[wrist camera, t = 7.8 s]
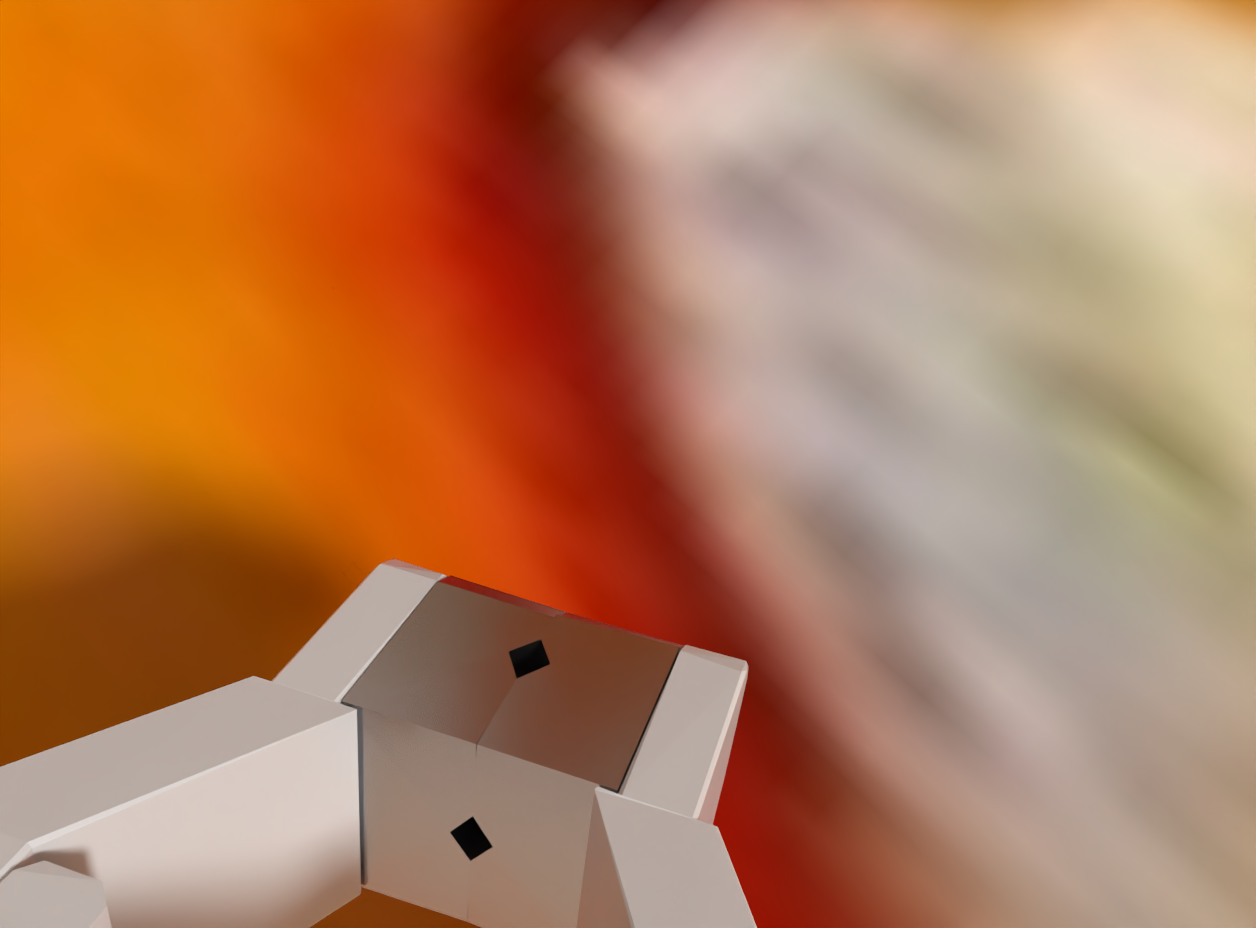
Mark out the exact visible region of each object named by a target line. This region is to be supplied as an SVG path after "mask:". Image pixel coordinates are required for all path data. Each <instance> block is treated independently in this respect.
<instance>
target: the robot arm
mask: <svg viewBox="0 0 1256 928" xmlns="http://www.w3.org/2000/svg"><path fill="white" fill-rule="evenodd" d="M748 668H749V667H748V664H747V662H746V661H744V660H740V659H737V658H733V657H729V656H725V655H722V654H718V653H714V652H711V651H707V650H703V649H699V648H696V647H692V646H688V645H685V646H682V645H679V644H675V643H672V642H668V641H665V640H661V639H658V638H654V637H651V636H647V635H644V634H640V633H637V632H633V631H630V630H626V629H623V628H619V627H616V626H612V625H609V624H605V623H602V622H598V621H595V620H591V619H588V618H584V617H581V616H577V615H574V614H570V613H567V612H565V613H564V611H561V610H558V609H555V608H551V607H548V606H545V605H542V604H539V603H536V602H532V601H529V600H526V599H523V598H520V597H517V596H514V595H510V594H507V593H504V592H501V591H498V590H495V589H491V588H488V587H485V586H482V585H479V584H476V583H473V582H469V581H466V580H463V579H460V578H457V577H454V576H449V577H448V576H446V575H443V574H441V573H438V572H434V571H431V570H428V569H425V568H422V567H419V566H415V565H412V564H409V563H406V562H403V561H399V560H396V559H392V560H389V561H386V562H384V563H381V564H379V565H378V566H376V567H375V568H374V569H373V571H372V572H371V573H370V574H369V575H368V576H367V577H366V578H365V579H364V580H363V581H362V583H361V584H360V585H359V586H358V587H357V588H356V589H355V590H354V591H353V592H352V593H351V595H350V596H349V597H348V598H347V599H346V600H345V601H344V602H343V603H342V604H341V605H340V607H339V608H338V609H337V610H336V611H335V612H334V613H333V614H332V615H331V616H330V617H329V619H328V620H327V621H326V622H325V623H324V624H323V625H322V626H321V627H320V628H319V629H318V630H317V632H316V633H315V634H314V635H313V636H312V637H311V638H310V639H309V640H308V641H307V642H306V644H305V645H304V646H303V647H302V648H301V649H300V650H299V651H298V652H297V653H296V654H295V656H294V657H293V658H292V659H291V660H290V661H289V662H288V663H287V664H286V665H285V666H284V668H283V669H282V670H281V671H280V672H279V673H278V674H277V675H276V676H275V677H274V678H273V679H272V681H269V680H266V679H262V678H259V677H256V676H252V677H249V678H246V679H243V680H240V681H238V682H235V683H232V684H229V685H227V686H224V687H221V688H218V689H215V690H213V691H210V692H207V693H204V694H201V695H199V696H196V697H193V698H190V699H188V700H185V701H182V702H179V703H176V704H174V705H171V706H168V707H165V708H163V709H160V710H157V711H154V712H151V713H149V714H146V715H143V716H140V717H137V718H135V719H132V720H129V721H126V722H124V723H121V724H118V725H115V726H112V727H110V728H107V729H104V730H101V731H99V732H96V733H93V734H90V735H87V736H85V737H82V738H79V739H76V740H73V741H71V742H68V743H65V744H62V745H60V746H57V747H54V748H51V749H48V750H46V751H43V752H40V753H37V754H35V755H32V756H29V757H26V758H23V759H21V760H18V761H15V762H12V763H9V764H7V765H4V766H1V767H0V928H310V927H311V926H313V925H314V924H316V923H317V922H319V921H321V920H322V919H324V918H325V917H327V916H328V915H330V914H331V913H333V912H334V911H336V910H338V909H339V908H341V907H342V906H344V905H345V904H347V903H348V902H350V901H351V900H353V899H355V898H356V897H358V896H359V895H361V887H363V888H366V889H369V890H372V891H375V892H378V893H381V894H384V895H387V896H390V897H393V898H396V899H399V900H402V901H405V902H408V903H411V904H414V905H417V906H420V907H423V908H426V909H430V910H433V911H436V912H439V913H442V914H445V915H448V916H451V917H454V918H457V919H460V920H463V921H466V922H467V921H468V923H471V924H474V925H476V926H479V927H481V928H757V927H756V924H755V921H754V919H753V916H752V914H751V911H750V909H749V906H748V903H747V901H746V898H745V896H744V893H743V891H742V888H741V885H740V883H739V880H738V878H737V875H736V873H735V870H734V867H733V865H732V862H731V860H730V857H729V855H728V852H727V849H726V847H725V844H724V842H723V839H722V837H721V834H720V831H719V829H718V827H717V826H714V825H713V821H714V817H715V813H716V809H717V805H718V801H719V797H720V793H721V789H722V785H723V781H724V777H725V773H726V769H727V764H728V760H729V756H730V751H731V747H732V743H733V738H734V734H735V729H736V725H737V721H738V716H739V712H740V707H741V703H742V699H743V694H744V690H745V686H746V681H747V675H748Z"/></svg>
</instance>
